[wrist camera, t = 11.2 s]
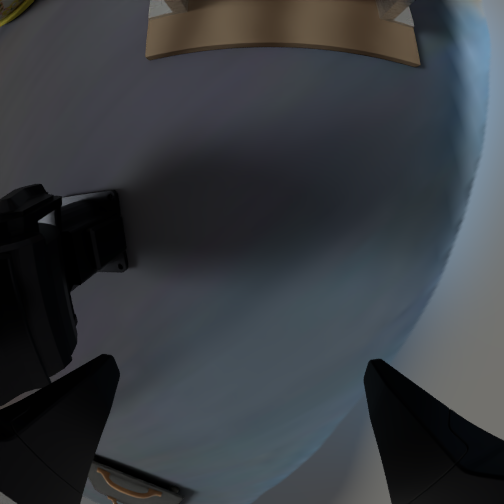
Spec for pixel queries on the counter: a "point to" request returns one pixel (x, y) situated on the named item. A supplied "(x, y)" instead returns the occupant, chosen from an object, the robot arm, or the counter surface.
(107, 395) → the robot arm
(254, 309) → the counter surface
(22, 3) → the flowerpot
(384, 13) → the bookends
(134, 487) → the serving board
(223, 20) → the shelf board
